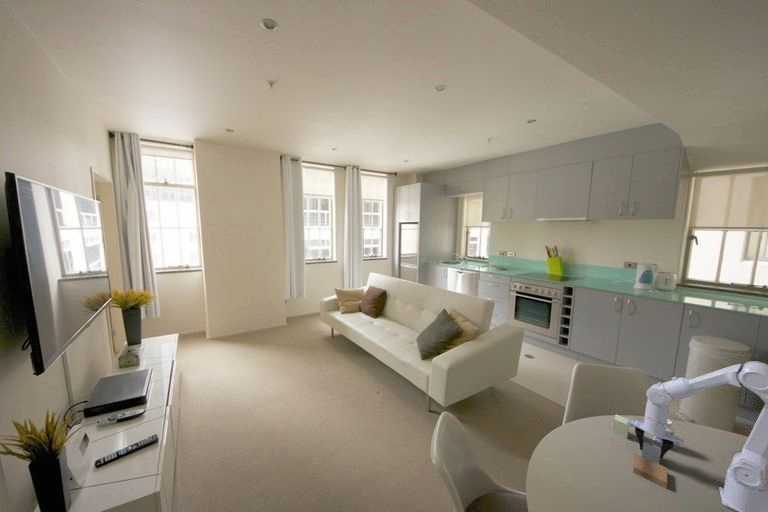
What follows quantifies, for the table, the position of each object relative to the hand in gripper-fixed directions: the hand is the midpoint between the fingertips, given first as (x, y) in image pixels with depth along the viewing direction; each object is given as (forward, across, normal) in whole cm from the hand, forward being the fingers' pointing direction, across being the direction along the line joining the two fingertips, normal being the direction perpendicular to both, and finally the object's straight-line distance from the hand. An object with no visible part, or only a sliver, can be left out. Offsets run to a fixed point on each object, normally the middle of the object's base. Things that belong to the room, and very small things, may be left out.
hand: (650, 452), depth 100 cm
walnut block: (+2, 0, +9) cm, 9 cm away
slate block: (+2, 0, 0) cm, 2 cm away
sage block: (+2, +9, -8) cm, 12 cm away
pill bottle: (+2, -3, -13) cm, 14 cm away
